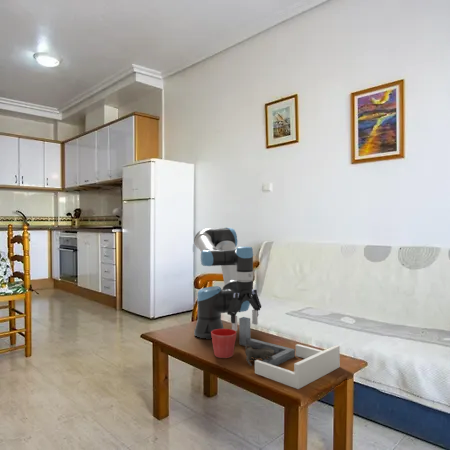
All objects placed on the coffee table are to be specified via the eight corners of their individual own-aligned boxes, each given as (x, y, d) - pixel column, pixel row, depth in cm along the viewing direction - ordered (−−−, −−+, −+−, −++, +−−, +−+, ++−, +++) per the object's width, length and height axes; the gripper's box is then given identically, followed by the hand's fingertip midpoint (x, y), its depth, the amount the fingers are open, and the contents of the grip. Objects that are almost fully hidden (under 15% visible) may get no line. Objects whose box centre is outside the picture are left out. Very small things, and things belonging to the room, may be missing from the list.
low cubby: (254, 373, 136) (254, 351, 136) (297, 354, 155) (297, 335, 155) (298, 389, 122) (298, 364, 122) (339, 367, 141) (339, 345, 141)
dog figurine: (245, 366, 143) (245, 347, 143) (245, 360, 149) (244, 342, 149) (276, 366, 143) (276, 346, 143) (275, 360, 149) (274, 342, 149)
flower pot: (239, 351, 159) (239, 329, 160) (233, 360, 149) (232, 336, 149) (215, 349, 162) (215, 327, 162) (207, 358, 152) (207, 334, 152)
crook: (214, 353, 157) (214, 325, 157) (243, 343, 171) (243, 316, 171) (268, 370, 139) (267, 338, 139) (295, 356, 153) (294, 327, 153)
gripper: (231, 284, 158) (231, 334, 158) (268, 278, 175) (268, 323, 176) (219, 282, 163) (219, 330, 164) (256, 276, 181) (256, 320, 181)
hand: (245, 327), depth 170 cm, fingers open, 13 cm apart
